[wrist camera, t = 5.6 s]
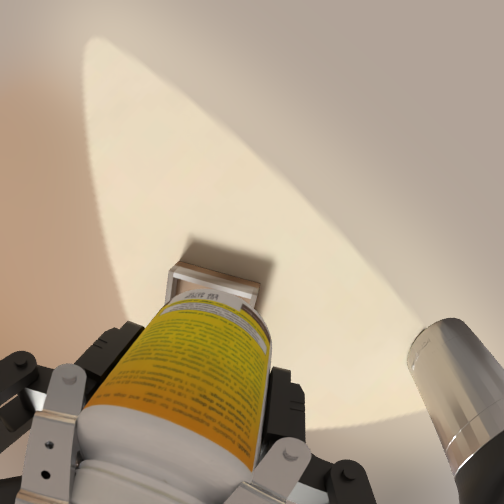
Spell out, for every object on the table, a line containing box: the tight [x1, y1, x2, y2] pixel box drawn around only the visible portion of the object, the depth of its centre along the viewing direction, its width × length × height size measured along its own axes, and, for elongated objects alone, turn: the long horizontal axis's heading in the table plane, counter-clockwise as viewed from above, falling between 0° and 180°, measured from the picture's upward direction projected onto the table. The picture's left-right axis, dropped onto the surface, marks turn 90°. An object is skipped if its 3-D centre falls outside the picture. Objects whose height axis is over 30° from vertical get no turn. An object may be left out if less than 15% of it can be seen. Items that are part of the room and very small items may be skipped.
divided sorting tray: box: [165, 261, 260, 308], centre depth 30 cm, size 8×16×3 cm, turn 166°
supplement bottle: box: [72, 289, 272, 504], centre depth 9 cm, size 6×6×10 cm
